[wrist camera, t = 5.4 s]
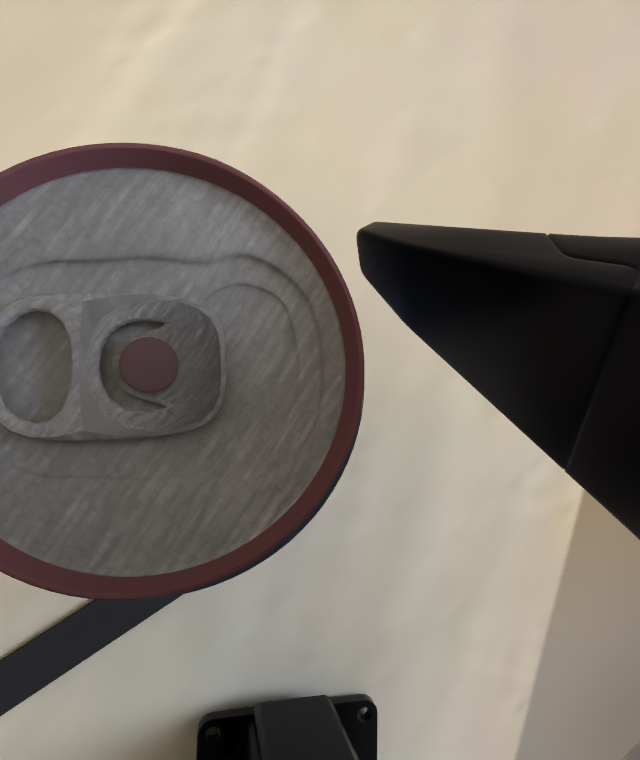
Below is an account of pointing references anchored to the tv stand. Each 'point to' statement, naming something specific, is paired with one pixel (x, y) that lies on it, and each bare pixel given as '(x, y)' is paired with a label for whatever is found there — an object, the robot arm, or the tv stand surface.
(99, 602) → the tape square
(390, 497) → the tv stand surface
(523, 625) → the tv stand surface
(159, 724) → the tv stand surface
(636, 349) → the robot arm
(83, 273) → the soda can
